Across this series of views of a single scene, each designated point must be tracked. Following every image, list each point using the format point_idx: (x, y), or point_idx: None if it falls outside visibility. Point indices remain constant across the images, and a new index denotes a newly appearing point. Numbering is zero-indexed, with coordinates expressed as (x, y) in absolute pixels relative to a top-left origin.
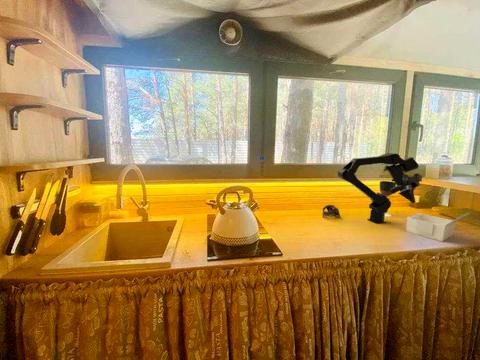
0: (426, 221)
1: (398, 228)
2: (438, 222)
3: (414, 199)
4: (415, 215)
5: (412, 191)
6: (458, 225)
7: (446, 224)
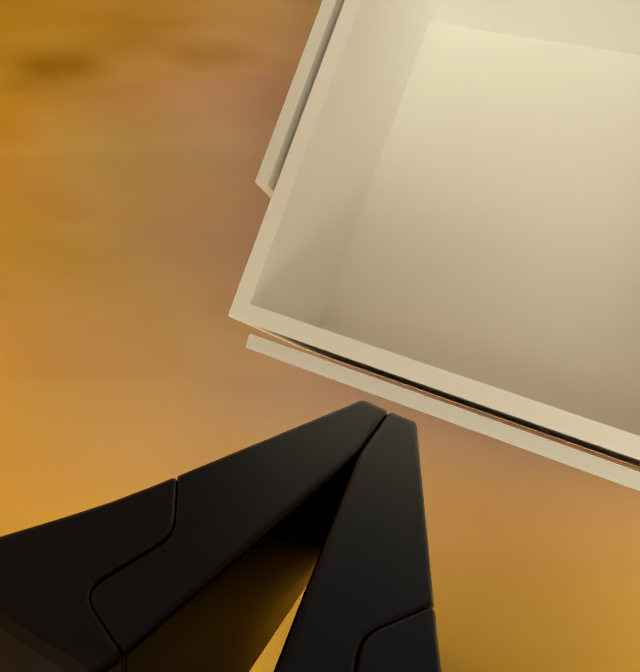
0: (318, 243)
1: (622, 593)
2: (362, 94)
3: (343, 444)
4: (463, 384)
5: (28, 659)
6: (3, 11)
7: (394, 7)
